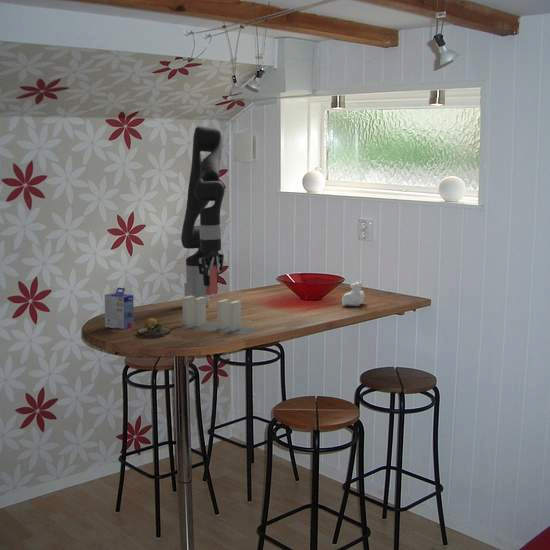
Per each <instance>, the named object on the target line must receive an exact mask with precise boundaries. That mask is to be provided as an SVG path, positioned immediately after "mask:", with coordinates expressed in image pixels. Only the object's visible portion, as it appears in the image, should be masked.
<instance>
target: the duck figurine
mask: <svg viewBox="0 0 550 550" xmlns="http://www.w3.org/2000/svg"><path fill="white" fill-rule="evenodd" d="M349 287H350V288H351V289H350V291H348V292H346V293H344V294H343V295H342V298H341V304H342V305H343V306H348V307H349V306H351V307H358V306H360V305H361V304H363V302H364V299H365V297H366V295H365V293H364V291H363V290H362V288H363V283H362V282H360V281H354V283H350V285H349Z"/></svg>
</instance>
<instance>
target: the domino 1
mask: <svg viewBox="0 0 550 550" xmlns="http://www.w3.org/2000/svg"><path fill="white" fill-rule="evenodd" d="M181 299H182V301H181V303H182V324H183V325H189V324H192V323H194V299H195V297H194V296H191V295H190V296H187V297H185V296H184V297H181Z"/></svg>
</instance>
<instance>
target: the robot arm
mask: <svg viewBox="0 0 550 550" xmlns="http://www.w3.org/2000/svg"><path fill="white" fill-rule="evenodd" d="M192 140H193V141H192V156H191V157H192V158H191V168H190V169H191V170H190V175H189V180H188V187H187V188H188V189H187V199H186V200H187V201H186V209H185V215H184V219H183V225H182V230H181V237H180V239H181V241H180V242H181V245H182V247H183V248H185V249H188V250H189V249H190V250H191V249H197V250H196V252H195V253H194V254H191V255H190V256H188V257H186V259H185V272H186V273H185V274H186V276H185V277H186V278H185V279H186V280H185V283H184V286H183V287H184V297H187V296H190V295H191V296H194V297H195V299H196V298H199V297H206V308H207V307H209V306H210V295H205V286H209V285H210V276H209V275H210V270H211V269H212V266H213V265H214V266H216V268H217V284H219V282H220V281H219V280H220V279H219V278H220V277H219V276H220V275H219V274H220V272H221V271H222V270H223V266H224V265H223V264H224V256H225V255H224V254H223V253H220V252H219V251H221V250H222V229H221V208H222V203H223V200H224V199H223V198H224V196H225V191H226V189H225V185H224V183H223V181H220V164H221V163H220V162H221V158H222V152H223V142H224V135H223V130H221V129H220V128H217V127H216V128H215V127H207V126H196V127H195V129H194V132H193V139H192ZM201 152H206V153H209V154H207V155H206V157H204V158H203V159H202V154H201ZM210 202H213V205H211V206H209V207H207V205H208V204H209V203H210ZM199 216H200V217H199ZM198 217H199V219H200V220H199V225H195V224H196V221H197V219H198ZM207 266H208V267H207ZM206 269H208V270H206Z"/></svg>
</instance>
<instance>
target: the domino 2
mask: <svg viewBox="0 0 550 550" xmlns="http://www.w3.org/2000/svg"><path fill="white" fill-rule="evenodd" d="M206 322H207V307H206V297H199V298H196V299H194V326H197V327H199V326H202V325H204V324H206Z"/></svg>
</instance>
